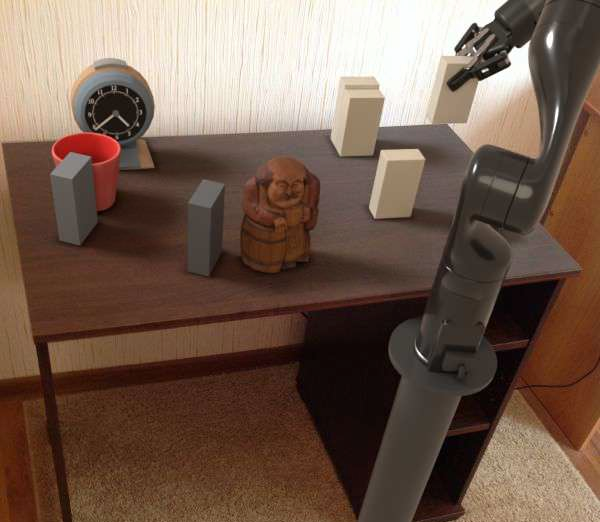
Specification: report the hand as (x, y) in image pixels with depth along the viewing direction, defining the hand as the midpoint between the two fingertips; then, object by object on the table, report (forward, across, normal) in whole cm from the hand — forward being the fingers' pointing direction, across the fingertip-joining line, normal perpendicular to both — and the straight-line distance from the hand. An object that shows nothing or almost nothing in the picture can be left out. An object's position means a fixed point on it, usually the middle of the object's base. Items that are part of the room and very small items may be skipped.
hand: (445, 82), depth 133 cm
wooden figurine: (+38, +22, -11) cm, 45 cm away
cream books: (+21, -2, +6) cm, 22 cm away
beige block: (+3, 0, +6) cm, 7 cm away
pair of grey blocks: (+53, +16, -26) cm, 61 cm away
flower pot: (+58, +2, -31) cm, 65 cm away
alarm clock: (+54, -12, -27) cm, 61 cm away
